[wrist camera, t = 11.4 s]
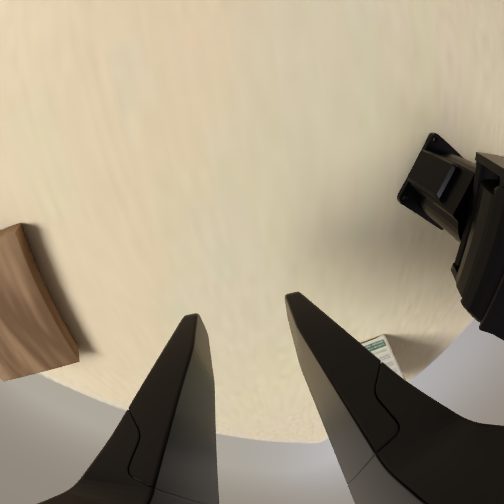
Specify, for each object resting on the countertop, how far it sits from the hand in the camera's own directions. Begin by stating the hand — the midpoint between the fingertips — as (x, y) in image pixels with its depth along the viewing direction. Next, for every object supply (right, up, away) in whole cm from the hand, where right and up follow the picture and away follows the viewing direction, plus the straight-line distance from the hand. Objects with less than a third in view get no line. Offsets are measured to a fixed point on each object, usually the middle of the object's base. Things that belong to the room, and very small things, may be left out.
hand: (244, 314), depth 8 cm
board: (-20, -3, +14) cm, 24 cm away
